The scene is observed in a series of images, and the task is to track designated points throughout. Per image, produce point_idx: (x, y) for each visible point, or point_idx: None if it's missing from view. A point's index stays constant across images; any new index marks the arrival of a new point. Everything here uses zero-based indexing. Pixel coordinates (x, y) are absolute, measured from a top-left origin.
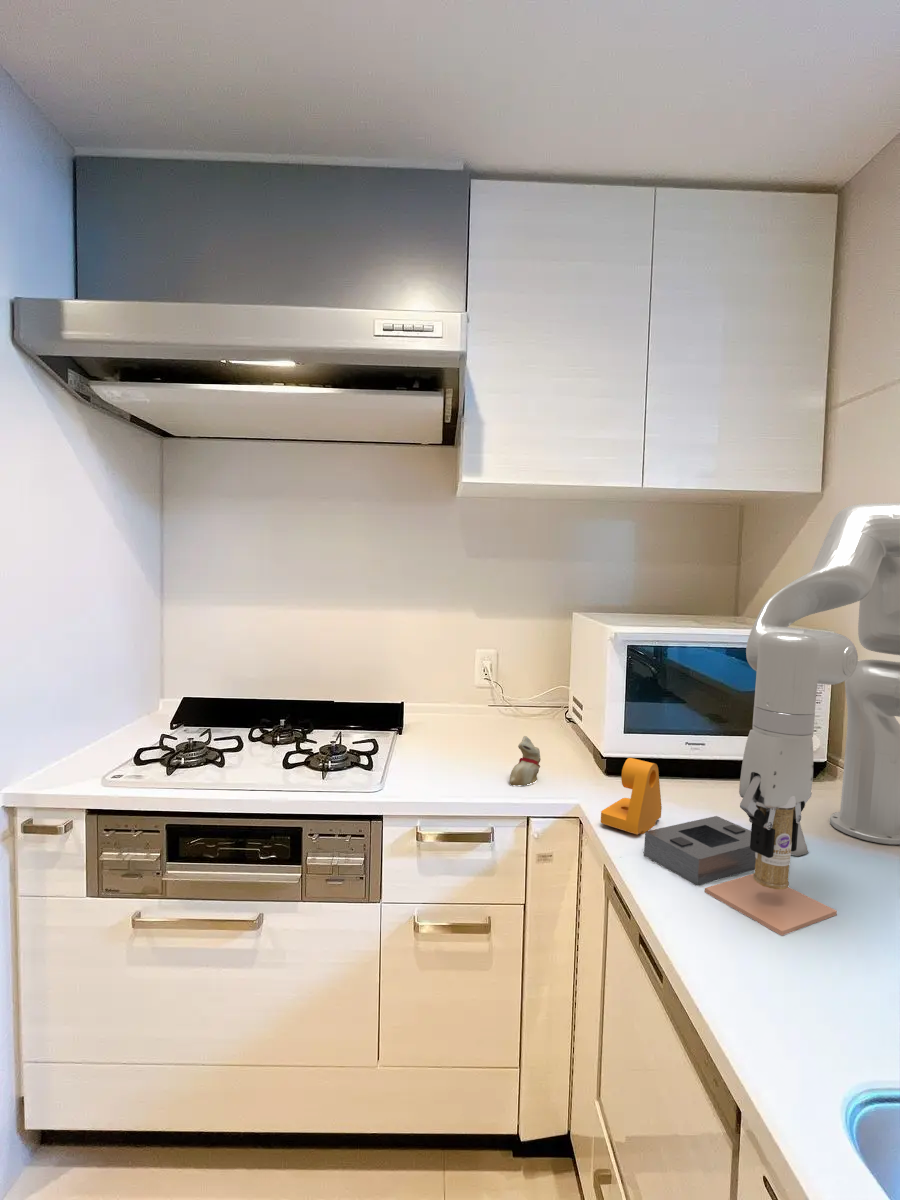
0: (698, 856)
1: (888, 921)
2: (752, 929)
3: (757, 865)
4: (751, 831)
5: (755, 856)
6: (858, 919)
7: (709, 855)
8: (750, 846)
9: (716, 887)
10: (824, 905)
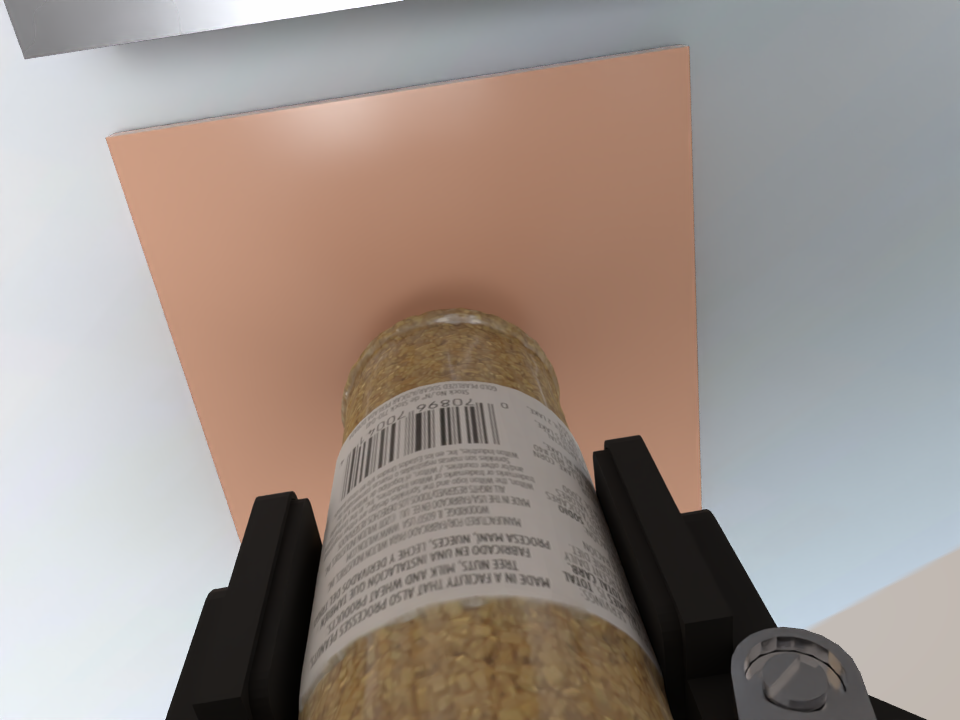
0: (52, 3)
1: (869, 589)
2: (153, 511)
3: (343, 440)
4: (226, 607)
5: (353, 432)
6: (757, 552)
7: (181, 16)
8: (257, 504)
9: (198, 155)
10: (691, 473)
